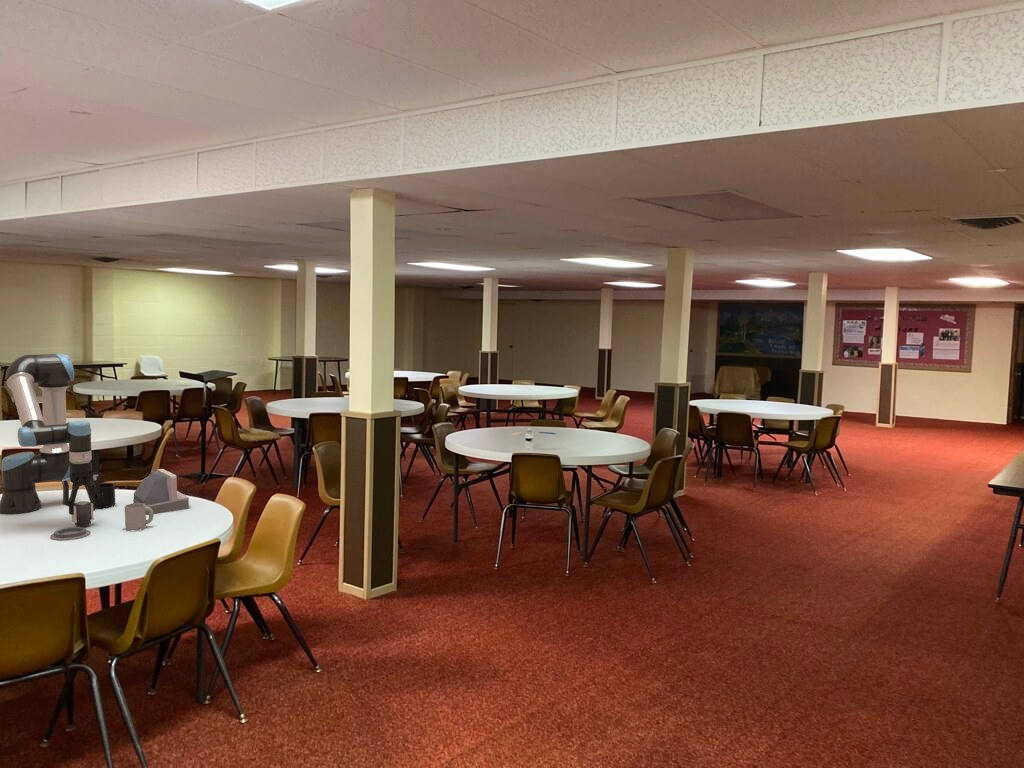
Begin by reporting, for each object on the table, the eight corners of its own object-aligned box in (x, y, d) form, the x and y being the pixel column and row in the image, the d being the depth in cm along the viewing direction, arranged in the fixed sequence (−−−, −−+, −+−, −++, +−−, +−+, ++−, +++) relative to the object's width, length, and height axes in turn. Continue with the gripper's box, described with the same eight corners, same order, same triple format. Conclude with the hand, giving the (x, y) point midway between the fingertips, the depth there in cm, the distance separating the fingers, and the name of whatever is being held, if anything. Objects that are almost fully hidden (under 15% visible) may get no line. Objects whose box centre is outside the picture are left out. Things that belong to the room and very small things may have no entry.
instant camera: (190, 510, 337) (190, 475, 336) (136, 516, 326) (135, 480, 325) (182, 499, 355) (181, 466, 354) (130, 505, 344) (129, 471, 343)
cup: (124, 527, 310) (124, 504, 309) (153, 523, 315) (152, 501, 314) (126, 531, 304) (125, 508, 303) (154, 528, 309) (154, 505, 308)
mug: (90, 511, 333) (89, 490, 332) (90, 505, 344) (89, 484, 343) (115, 509, 337) (114, 487, 336) (115, 502, 348) (114, 482, 347)
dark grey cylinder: (72, 523, 310) (71, 502, 309) (87, 520, 314) (86, 500, 313) (77, 526, 306) (77, 505, 305) (93, 523, 311) (92, 502, 310)
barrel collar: (44, 535, 297) (44, 531, 297) (81, 528, 307) (81, 524, 307) (58, 542, 289) (58, 537, 289) (96, 535, 299) (96, 530, 298)
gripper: (58, 466, 298) (60, 527, 301) (109, 459, 312) (111, 518, 315) (50, 463, 303) (53, 523, 306) (101, 457, 317) (103, 514, 319)
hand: (82, 520), depth 310 cm, fingers closed on dark grey cylinder, 5 cm apart
